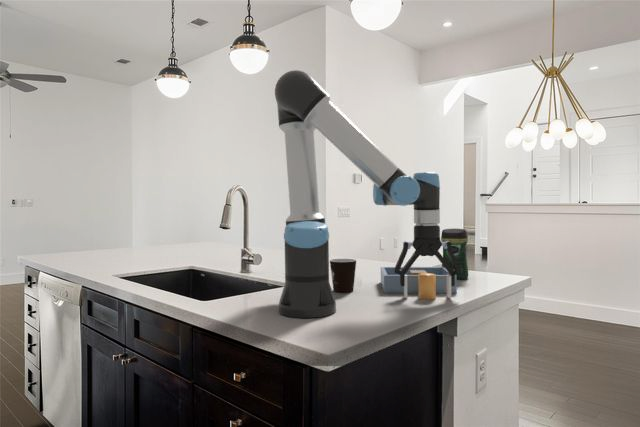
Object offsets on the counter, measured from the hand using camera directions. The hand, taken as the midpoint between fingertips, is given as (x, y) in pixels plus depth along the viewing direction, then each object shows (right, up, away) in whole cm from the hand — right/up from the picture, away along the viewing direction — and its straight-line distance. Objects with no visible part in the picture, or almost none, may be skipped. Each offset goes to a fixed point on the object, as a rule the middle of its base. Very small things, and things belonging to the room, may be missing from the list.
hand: (427, 297), depth 128 cm
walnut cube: (0, +1, +12) cm, 12 cm away
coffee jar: (+19, +1, +34) cm, 38 cm away
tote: (0, 0, +16) cm, 16 cm away
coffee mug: (-24, 0, +13) cm, 27 cm away
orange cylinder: (0, 0, 0) cm, 0 cm away
